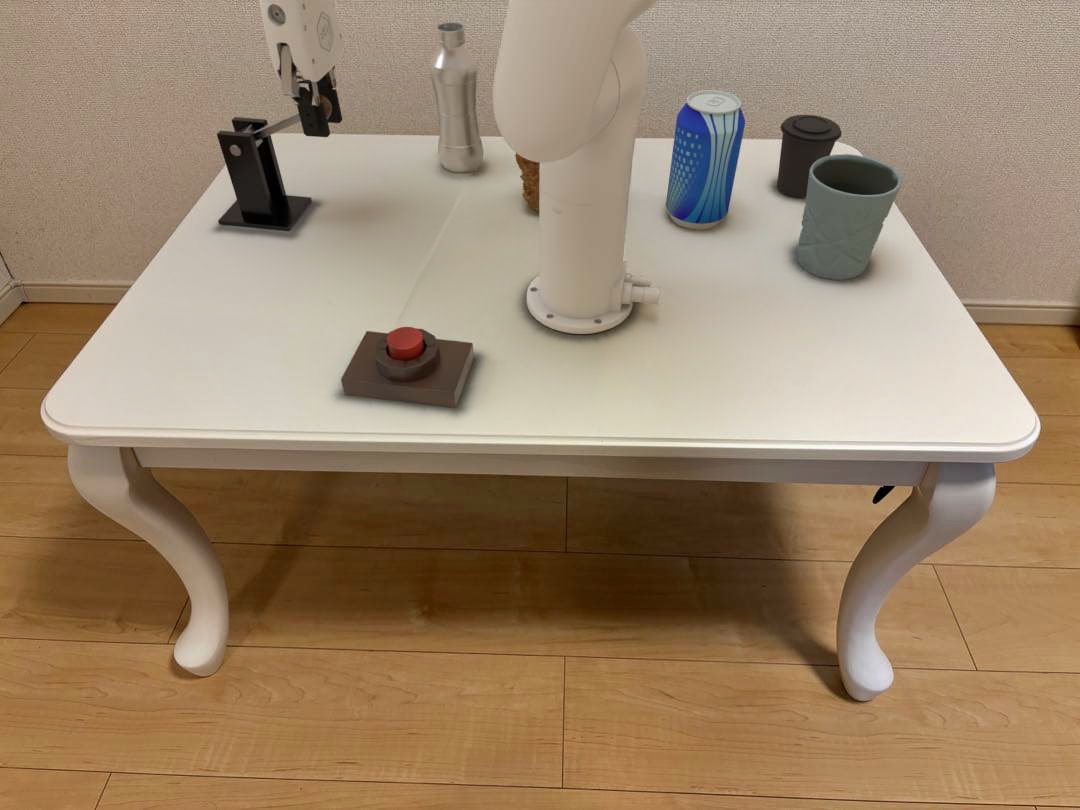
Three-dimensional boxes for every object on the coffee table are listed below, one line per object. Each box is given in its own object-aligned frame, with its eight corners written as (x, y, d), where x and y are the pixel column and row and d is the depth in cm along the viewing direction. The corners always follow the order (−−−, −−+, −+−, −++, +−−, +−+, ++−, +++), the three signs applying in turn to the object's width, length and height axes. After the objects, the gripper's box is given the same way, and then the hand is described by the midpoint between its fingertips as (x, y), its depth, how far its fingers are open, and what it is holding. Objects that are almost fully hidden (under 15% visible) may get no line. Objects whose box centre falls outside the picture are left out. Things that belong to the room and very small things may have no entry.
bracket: (313, 204, 107) (292, 115, 98) (290, 235, 102) (265, 143, 93) (246, 198, 108) (219, 110, 99) (220, 228, 103) (189, 137, 94)
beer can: (736, 228, 103) (760, 111, 91) (678, 236, 101) (695, 118, 90) (711, 197, 108) (731, 83, 97) (655, 204, 107) (669, 90, 96)
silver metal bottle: (478, 180, 112) (468, 37, 98) (434, 176, 113) (418, 33, 99) (489, 160, 116) (481, 20, 102) (446, 156, 117) (433, 17, 103)
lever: (341, 109, 94) (326, 84, 92) (331, 120, 92) (316, 95, 90) (251, 149, 100) (235, 126, 98) (240, 160, 98) (223, 138, 96)
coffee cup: (755, 182, 111) (769, 115, 104) (800, 170, 114) (817, 104, 107) (790, 208, 106) (808, 139, 99) (836, 195, 109) (857, 127, 102)
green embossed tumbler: (886, 277, 94) (919, 189, 86) (812, 289, 93) (839, 200, 84) (843, 234, 101) (870, 148, 93) (773, 244, 100) (795, 158, 91)
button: (428, 341, 80) (426, 328, 79) (418, 363, 78) (416, 350, 77) (395, 337, 81) (393, 324, 79) (384, 359, 78) (382, 346, 77)
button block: (474, 358, 84) (471, 329, 81) (455, 408, 78) (452, 380, 75) (369, 346, 85) (363, 317, 82) (344, 394, 80) (337, 366, 77)
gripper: (286, -15, 75) (327, 161, 88) (346, -58, 87) (375, 103, 99) (216, -17, 76) (266, 157, 89) (285, -59, 88) (321, 100, 101)
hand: (323, 127), depth 94 cm, fingers closed on lever, 3 cm apart
